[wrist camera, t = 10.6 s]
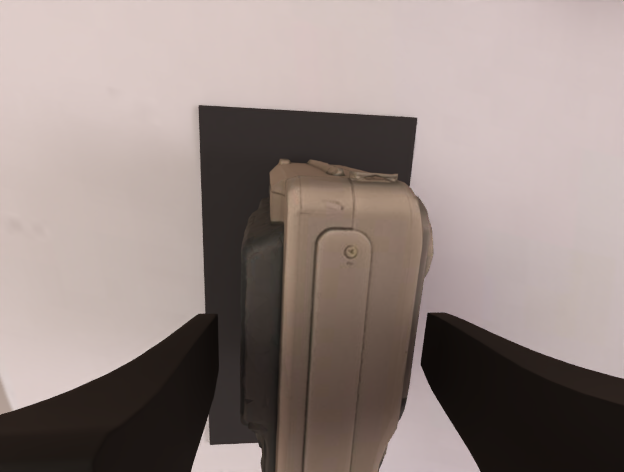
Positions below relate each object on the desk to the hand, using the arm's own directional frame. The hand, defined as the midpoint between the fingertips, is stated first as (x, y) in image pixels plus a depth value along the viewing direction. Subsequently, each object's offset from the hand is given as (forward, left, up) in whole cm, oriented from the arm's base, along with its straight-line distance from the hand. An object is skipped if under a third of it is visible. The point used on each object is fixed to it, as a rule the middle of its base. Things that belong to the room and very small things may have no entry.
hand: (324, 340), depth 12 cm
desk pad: (-2, 0, -8) cm, 8 cm away
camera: (0, 0, -8) cm, 8 cm away
